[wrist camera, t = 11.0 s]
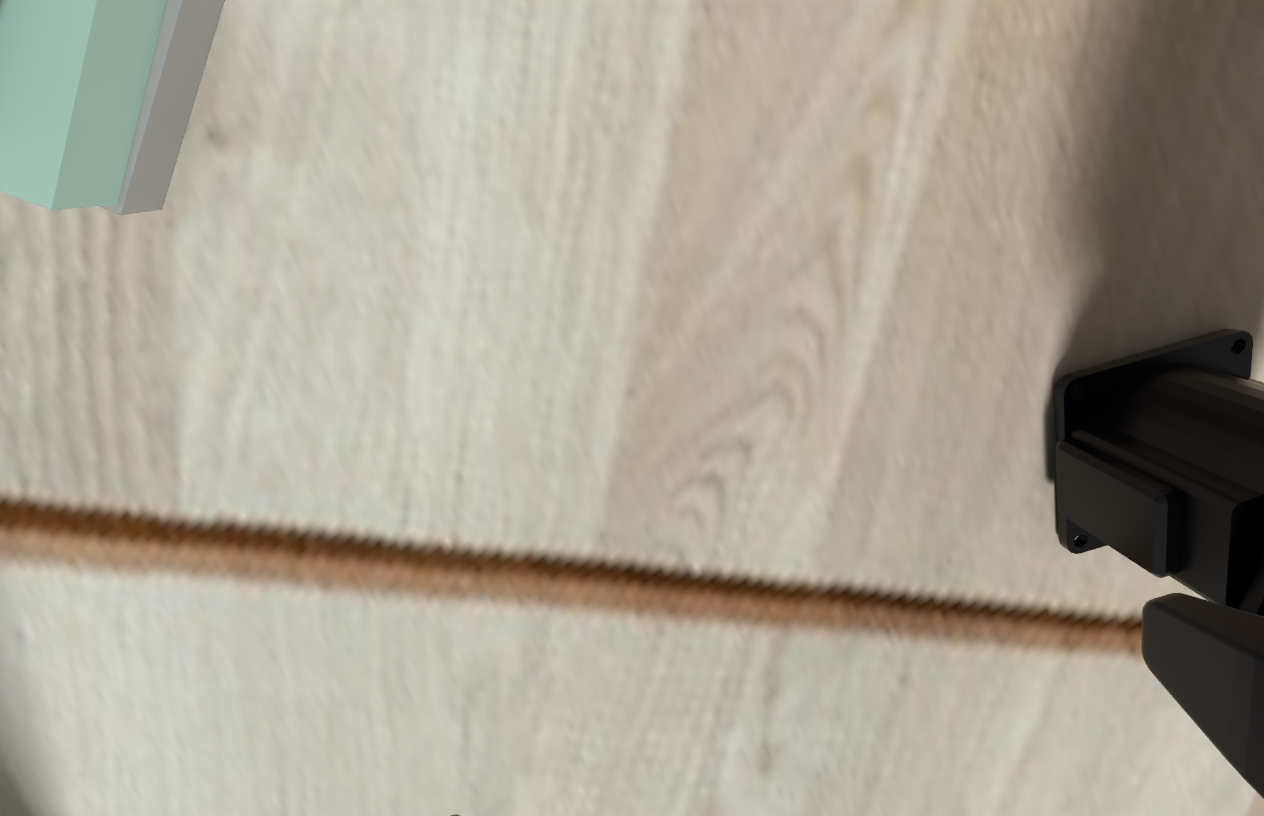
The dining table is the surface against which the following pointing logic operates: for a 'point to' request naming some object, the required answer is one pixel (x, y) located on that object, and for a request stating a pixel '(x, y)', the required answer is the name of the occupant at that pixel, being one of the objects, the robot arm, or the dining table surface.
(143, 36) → the teal slab
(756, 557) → the dining table surface
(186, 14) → the grey slab
